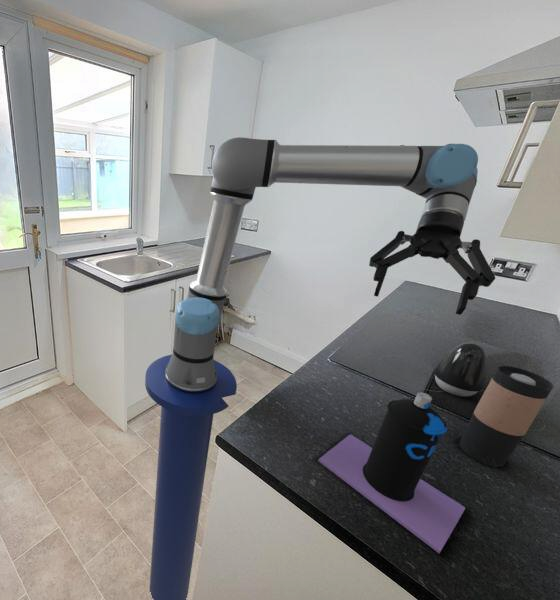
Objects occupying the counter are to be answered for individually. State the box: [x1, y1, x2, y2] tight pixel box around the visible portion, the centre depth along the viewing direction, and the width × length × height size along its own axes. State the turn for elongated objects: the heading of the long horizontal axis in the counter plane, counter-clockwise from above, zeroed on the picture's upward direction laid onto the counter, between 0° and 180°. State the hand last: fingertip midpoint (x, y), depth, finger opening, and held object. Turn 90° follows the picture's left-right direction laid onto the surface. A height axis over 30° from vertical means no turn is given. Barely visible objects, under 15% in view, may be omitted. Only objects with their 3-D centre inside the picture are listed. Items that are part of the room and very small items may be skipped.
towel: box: [318, 434, 466, 554], centre depth 59 cm, size 20×13×1 cm, turn 34°
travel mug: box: [459, 365, 554, 468], centre depth 64 cm, size 8×8×20 cm
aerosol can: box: [363, 391, 448, 502], centre depth 56 cm, size 8×8×20 cm
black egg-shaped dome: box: [433, 342, 488, 398], centre depth 86 cm, size 10×10×15 cm
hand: (415, 301), depth 63 cm, fingers open, 13 cm apart
